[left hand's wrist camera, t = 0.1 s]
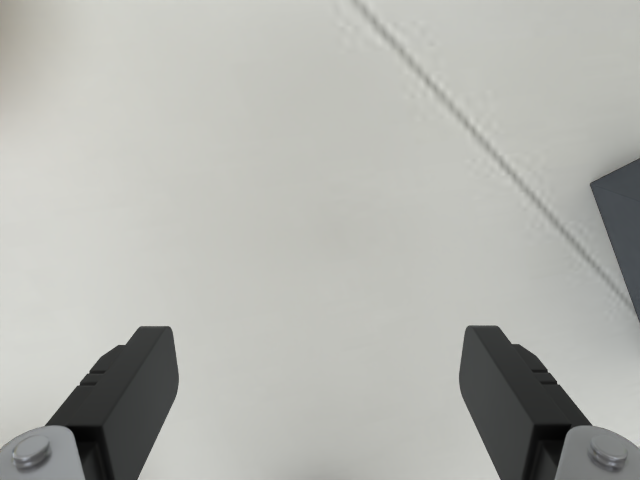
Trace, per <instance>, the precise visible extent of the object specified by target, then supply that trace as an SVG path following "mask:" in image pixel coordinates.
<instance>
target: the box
mask: <svg viewBox="0 0 640 480" xmlns="http://www.w3.org/2000/svg"><path fill="white" fill-rule="evenodd" d="M590 185H591V188H592V191H593V194H594V196H595V199H596V202H597V205H598V207H599V210H600V213H601V216H602V219H603V221H604V224H605V227H606V230H607V232H608V235H609V238H610V241H611V243H612V246H613V249H614V252H615V255H616V257H617V260H618V263H619V266H620V268H621V271H622V274H623V277H624V280H625V282H626V285H627V288H628V291H629V293H630V296H631V299H632V302H633V305H634V307H635V310H636V313H637V316H638V318H639V321H640V159H638V160H636V161H634V162H632V163H630V164H628V165H626V166H624V167H622V168H620V169H618V170H616V171H614V172H612V173H610V174H608V175H606V176H604V177H602V178H600V179H598V180H596V181H594V182H592V183H591V184H590Z"/></svg>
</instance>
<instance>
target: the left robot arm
mask: <svg viewBox="0 0 640 480" xmlns="http://www.w3.org/2000/svg"><path fill="white" fill-rule="evenodd" d="M178 383H179V374H178V366H177V359H176V352H175V345H174V338H173V332H172V329H171V328H170V327H169V326H141V327H139V328H138V329H137V331H136V332H135V333H134V335H133V336H132V337H131V338H130V340H129V341H128V342H127V344H126V345H118V346H116V347H115V348H114V349H112V350H111V351H109V352H108V353H106V354H105V355H103V356H102V357H101V358H100V359H99V360H98V361H97V362H96V364H95V365H94V366H93V367H92V369H91V370H90V373H89V374H87V375H86V376H85V377H84V378H83V380H82V381H81V382H80V386H77V387H76V388H75V389H74V391H73V392H72V393H71V394H70V396H69V397H68V398H67V399H66V400H65V402H64V403H63V404H62V405H61V407H60V408H59V409H58V410H57V412H56V413H55V414H54V415H53V416H52V418H51V419H50V420H49V421H48V423H47V424H46V425H45V426H44V427H40V428H36V429H33V430H30V431H28V432H25V433H23V434H21V435H19V436H18V437H16V438H14V439H13V440H11V441H9V442H8V443H7V444H6V445H4V446H3V447H2V448H1V449H0V480H137V479H138V477H139V475H140V473H141V470H142V468H143V466H144V464H145V462H146V460H147V458H148V455H149V453H150V451H151V449H152V447H153V445H154V443H155V440H156V438H157V436H158V434H159V432H160V430H161V428H162V425H163V423H164V421H165V419H166V417H167V415H168V413H169V410H170V408H171V406H172V404H173V402H174V400H175V397H176V394H177V390H178ZM459 384H460V390H461V394H462V397H463V399H464V401H465V404H466V406H467V408H468V410H469V412H470V414H471V417H472V419H473V421H474V423H475V425H476V427H477V430H478V432H479V434H480V436H481V438H482V440H483V443H484V445H485V447H486V449H487V451H488V453H489V456H490V458H491V460H492V462H493V464H494V466H495V469H496V471H497V473H498V475H499V477H500V479H501V480H640V449H639V448H638V447H637V446H636V445H634V444H633V443H632V442H631V441H629V440H627V439H626V438H624V437H622V436H621V435H619V434H617V433H615V432H612V431H610V430H607V429H604V428H600V427H596V426H592V424H591V423H590V422H589V421H588V419H587V418H586V417H585V416H584V414H583V413H582V412H581V411H580V410H579V408H578V407H577V406H576V405H575V403H574V402H573V401H572V400H571V398H570V397H569V396H568V395H567V393H566V392H565V391H564V390H563V388H562V387H561V386H560V385H557V381H556V380H555V379H554V377H553V376H552V375H551V374H550V373H548V370H547V369H546V367H545V366H544V365H543V364H542V362H541V361H540V360H539V359H538V358H537V356H535V355H534V354H533V353H531V352H530V351H528V350H527V349H525V348H524V347H522V346H521V345H519V344H511V342H510V341H509V340H508V338H507V337H506V336H505V334H504V333H503V332H502V330H501V329H500V328H499V327H498V326H468V327H467V328H466V331H465V335H464V343H463V350H462V357H461V364H460V372H459Z"/></svg>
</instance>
